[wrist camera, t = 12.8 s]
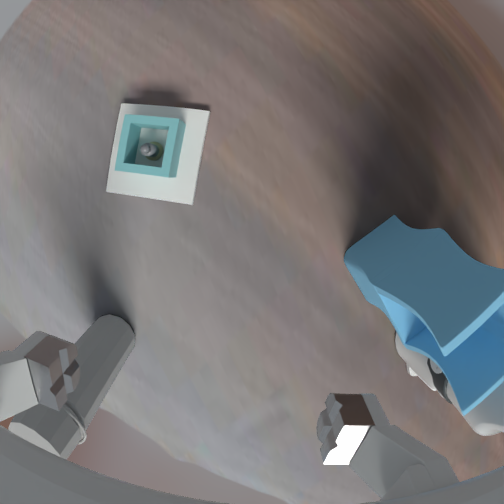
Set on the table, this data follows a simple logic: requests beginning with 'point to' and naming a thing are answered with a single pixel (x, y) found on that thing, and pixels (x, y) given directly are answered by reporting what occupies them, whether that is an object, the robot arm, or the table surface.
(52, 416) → the water bottle
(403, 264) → the vase
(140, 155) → the post stand
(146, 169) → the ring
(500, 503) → the robot arm
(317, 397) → the table surface
